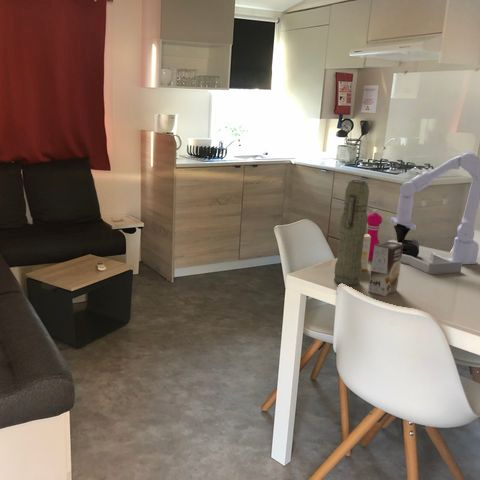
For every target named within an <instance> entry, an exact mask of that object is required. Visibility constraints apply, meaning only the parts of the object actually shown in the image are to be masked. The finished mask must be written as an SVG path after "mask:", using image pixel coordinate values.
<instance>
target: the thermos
mask: <svg viewBox="0 0 480 480" xmlns="http://www.w3.org/2000/svg"><path fill="white" fill-rule="evenodd" d="M369 194H370V189H369V184H368V183H367V182H366V181H365V180H359V179H357V180H356V179H353V180H350V181H348V183H347V185H346V188H345V192H344V202H343V203H344V207H343V210H342V213H341V215H340V221H339V229H338V231H339V233H340V235H339V243H338V251H337V252H338V253H337V260H336V262H335V265H334V266H335V267H334V272H333V273H334V279H333V281H334V283H336V284H338V285H341V284H340V283H343V284H346V285H348V286H349V287H356V286H358V285H360V279H361V276H362V271H363V270H362V264H361V257H362V248H363V240H364V236H365V234H367V229H368V228H367V225H368V223H367V220H368V218H367V216H368V215H367V210H368V209H367V208H368V207H367V206H368V203H369ZM346 285H345V286H346ZM348 286H347V287H348Z"/></svg>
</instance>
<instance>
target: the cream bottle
mask: <svg viewBox="0 0 480 480" xmlns="http://www.w3.org/2000/svg"><path fill="white" fill-rule="evenodd" d="M370 241H371V237H370V235H369V234H367V233H366V234H365V236H364V240H363V248H362V257H361V264H362V270H361V271H368V267H369V266H368V265H369V260H368V258H369V249H370Z"/></svg>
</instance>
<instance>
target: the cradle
mask: <svg viewBox="0 0 480 480" xmlns="http://www.w3.org/2000/svg"><path fill="white" fill-rule="evenodd" d="M447 258H448V257H444V256H442V255H440V254H438V253H437V252H434V251H431V252H430V257H429V260H430V261H432V262H429V263H428V262H426V261H424V260H421V259H419V258H417V257H416V258H415V257H412V256H409V255H405V254H402V259H401V263H403V264H406V265H410V266H412V267H414V268H416V269H418V270H420V271H422V272H425V273H426V274H428V275H440V274H441V275H443V274H454V273H456V274H457V273H461V271H462V267H463V265H462V262H461V261H452V260H449V259H447Z"/></svg>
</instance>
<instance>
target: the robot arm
mask: <svg viewBox="0 0 480 480" xmlns="http://www.w3.org/2000/svg"><path fill="white" fill-rule="evenodd" d="M461 168H462V169H463V170H464V171H466V172H467V173H468V174H469V175H470V176H471V178H472V179H471V183H470V187H469V191H468V196H467V199H466V204H465V208H464V210H463V215H462V218H461V222H460V224H459V225H458V226H457V229H456V231H457V232H456V236H455V237H454V241H453V247H452V252H451V257H446V258H447V259H449V260H452V261H461V262H462V266H463V265H474V264H475V265H476V264H478V263H479V262H478V261H477V260H478V255H479V244H478V242H477V241H476V240H474V237H475V230H474V229H475V228H474V227H475V223H476V217H477V213H478V209H479V204H480V159H479V157H478V156H477V155H476V154H475V153H474V152H472V151H466V152H463V153H462V154H461V155H460V154H459V155H457V156H455V157H452V158H450V159H448V160H447V161H445V162H444V163H442V164H441V165H439V166H437V167H436V168H434V169H433V170H430V171H426V170H425V171H420V172H418V175H416V176H415V177H412V178H409V179H408V180H407V181H405V182H403V183H402V185H401V186H400V187H399V192H400V194H399V199H398V204H397V205H398V206H397V211H396V217H393V216H392V217H390V220H389V222H390V223H394V224H395V225H393V229H394V230H395V231H394V232H395V234H396V243H398V244H402V239H404V240H406V239H405V238H406V236H407V235H408V233H409V231H410V230H411V231H416V229H417V225H416V224H415V223H413V222H412V221H411V219H412V212H413V205H414V195H415V192H420V191H422V190H423V189H425V188H427V187H428V186H430V185H432V184H433V183H434V179H435V178H438V177H440V176H441V175H444V174H445V173H447V172H449V171H451V170H460V169H461Z"/></svg>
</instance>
